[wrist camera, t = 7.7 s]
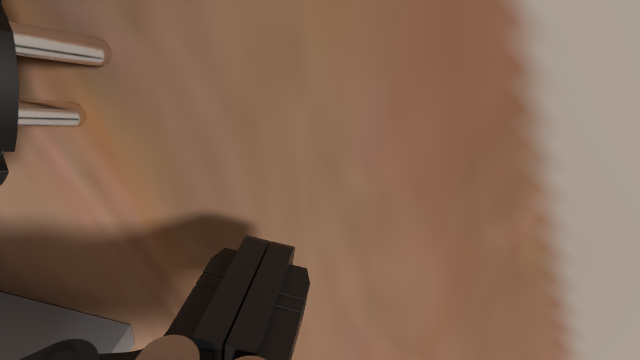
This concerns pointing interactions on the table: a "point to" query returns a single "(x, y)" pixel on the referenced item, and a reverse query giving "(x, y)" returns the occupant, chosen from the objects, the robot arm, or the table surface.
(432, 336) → the table surface
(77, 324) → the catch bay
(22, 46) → the power plug
